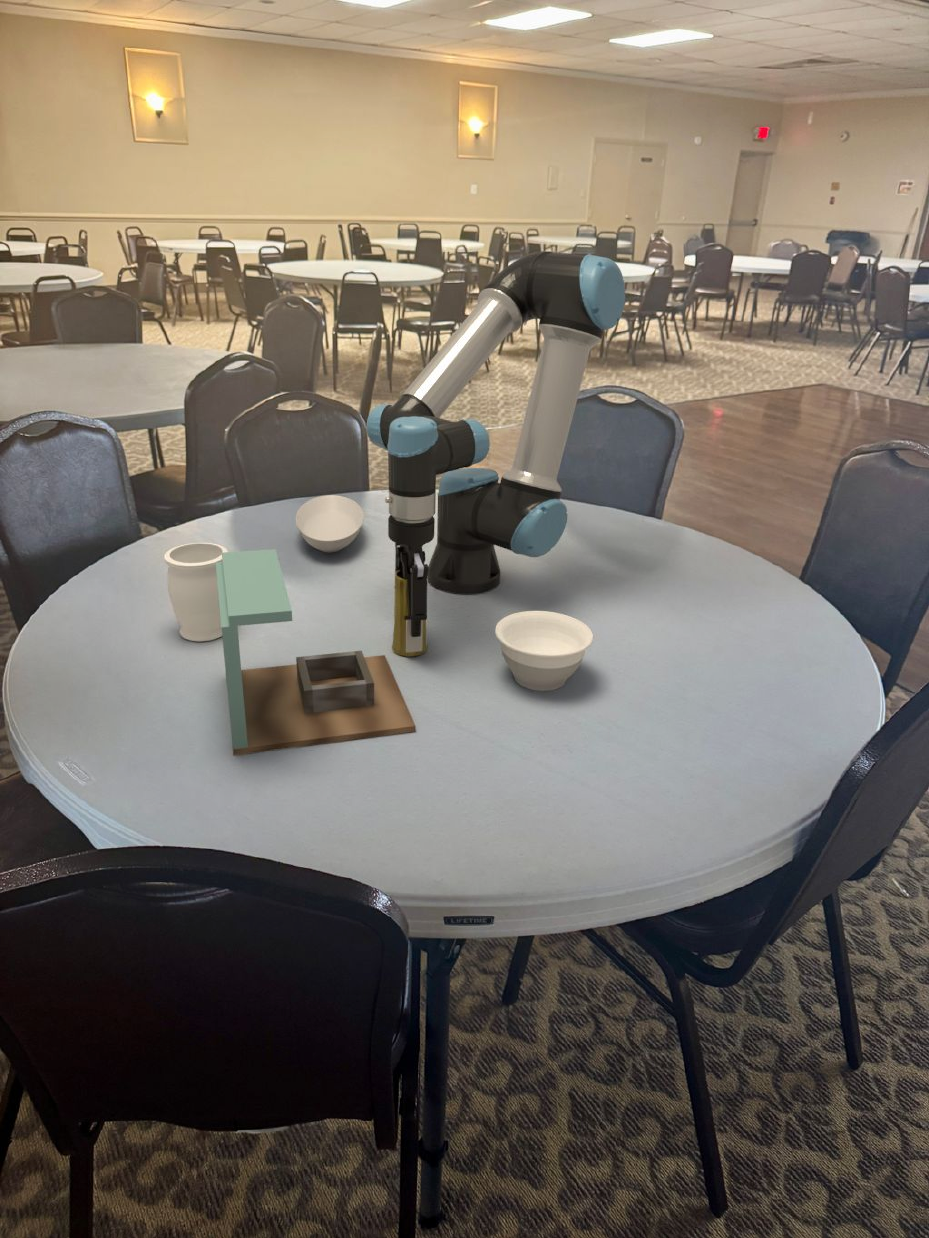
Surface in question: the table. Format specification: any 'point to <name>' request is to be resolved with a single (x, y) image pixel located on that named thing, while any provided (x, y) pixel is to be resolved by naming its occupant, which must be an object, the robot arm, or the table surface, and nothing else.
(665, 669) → the table surface
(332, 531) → the bowl
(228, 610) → the green l-shaped post
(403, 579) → the vase
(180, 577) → the jar
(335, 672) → the socket board
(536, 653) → the bowl
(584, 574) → the table surface
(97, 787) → the table surface
